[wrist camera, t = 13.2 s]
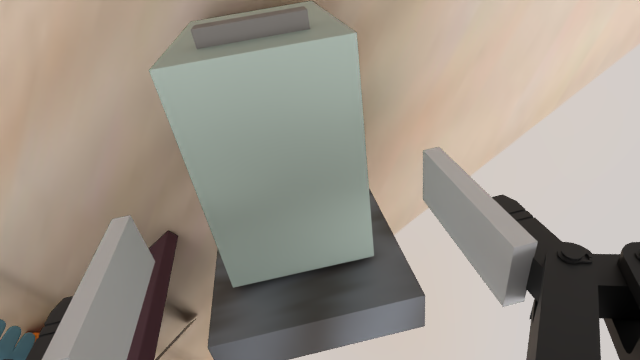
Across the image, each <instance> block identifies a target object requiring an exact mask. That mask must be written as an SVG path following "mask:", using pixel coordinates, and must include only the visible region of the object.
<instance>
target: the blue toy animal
mask: <svg viewBox="0 0 640 360" xmlns="http://www.w3.org/2000/svg"><path fill="white" fill-rule="evenodd" d="M5 327H6V323H5V321H3V320H1V319H0V337H1V335H2V333H3V331H4V329H5ZM39 334H40V333H31V332H26V333H25V334H24V335H23V336H22V338H21V339H20V341H19V342H18V344H17V345H16V343H17V341H18V339H19V337H20V335H21V329H20V327H18V326H12V327H10V328H9V329H8V330H7V331H6V333H5V334H4V336H3V337H2V339H1V340H0V360H3V359H13V360H25V359H26V358H27V356H28V354H29V352H30V350H31V348H32V347H33V344H34V342H35V341H36V339H37V338H39V336H38V335H39ZM15 345H16V347H15Z"/></svg>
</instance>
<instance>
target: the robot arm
mask: <svg viewBox="0 0 640 360" xmlns="http://www.w3.org/2000/svg"><path fill="white" fill-rule="evenodd" d="M423 200H424V201H425V203H426V204H427V205H428V207H429V208H430V210H431V211H432V212H433V213H434V215H435V216H436V217H437V219H438V220H439V222H440V223H441V224H442V226H443V227H444V228H445V230H446V231H447V232H448V233H449V235H450V236H451V238H452V239H453V240H454V242H455V243H456V244H457V246H458V247H459V248H460V250H461V251H462V252H463V254H464V255H465V256H466V258H467V259H468V261H469V262H470V263H471V265H472V266H473V267H474V269H475V270H476V271H477V273H478V274H479V275H480V277H481V278H482V279H483V281H484V282H485V283H486V285H487V286H488V287H489V288H490V290H491V291H492V293H493V294H494V295H495V297H496V298H497V299H498V301H499V302H500V303H501V305H502V306H503V307H504V306H508V305H512V304H516V303H520V302H523V301H524V299H525V295H526V291H527V290H528V291H529V292H530V294H532V296H533V297H534V298H535V300H534V303H533V307H532V311H531V315H530V319H531V326H530V335H529V343H528V351H527V359H526V360H601V356H600V329H599V318H604V321H605V323H606V326H607V328H608V331H609V333H610V336H611V338H612V341H613V344H614V346H615V349H616V351H617V354H618V356H619V359H620V360H640V242H632V243H629V244H627V245H625V246H624V248H623V249H622V251H621V254H619V255H617V254H592V253H591V252H590V251H589V250H587V249H586V248H584V247H582V246H580V245H577V244H574V243H569V242H562V241H560V240H559V239H558V238H557V237H556V236H555V235H554V234H553V233H551V232H550V231H549V230H548V229H547V228H546V227H545V226H544V225H542V224H541V223H540V222H539V221H538V220H537V219H536V218H533V216H532V215H531V214H530V213H529V212H528V211H525V209H524V208H523V207H522V206H521V205H520V204H519V203H518V202H517V201H515V200H513V199H511V198H509V197H507V196H504V195H499V196H495V197H491V196H490V195H489V194H488V193H487V192H486V191H485V190H483V188H481V187H480V186H479V185H478V184H477V183H476V182H475V181H474V180H473V179H472V178H471V177H470V176H469V175H468V174H467V173H466V172H465V171H464V170H463V169H462V168H461V167H460V166H459V165H458V164H457V163H456V162H454V161H453V160H452V159H451V158H450V157H449V156H448V155H447V154H446V153H445V152H444V151H443V150H442V149H441V148H440V147H436V148H431V149H427V150H423ZM154 263H155V260H154V258H153V256H152V254H151V253H150V251H149V249H148V247H147V245H146V243H145V241H144V240H143V238H142V236H141V234H140V232H139V230H138V228H137V227H136V225H135V223H134V221H133V219H132V217H131V215H128V216H124V217H119V218H115V219H112V220H111V222H110V224H109V226H108V228H107V230H106V232H105V234H104V236H103V238H102V240H101V242H100V244H99V246H98V248H97V250H96V252H95V254H94V256H93V258H92V260H91V262H90V264H89V266H88V268H87V270H86V272H85V274H84V276H83V278H82V280H81V282H80V284H79V286H78V288H77V290H76V292H75V294H74V296H72V297H67V298H64V299H63V300H62V301H61V302H60V303H59V304H58V305H57V306H56V307H55V308H54V309H53V310H52V311H51V313H50V315H49V317H48V319H47V321H46V322H45V324H44V325H45V327H43V328H42V330H41V332H40V334H39V335H38V336H39V338H37V339H36V341H35V343H34V345H33V347H32V348H31V350H30V352H29V354H28V356H27V358H26V359H25V360H127V357H128V353H129V350H130V346H131V343H132V340H133V336H134V333H135V329H136V326H137V322H138V319H139V315H140V312H141V308H142V305H143V302H144V298H145V295H146V291H147V288H148V284H149V281H150V277H151V274H152V270H153V267H154ZM3 360H13V359H3Z"/></svg>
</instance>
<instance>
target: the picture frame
mask: <svg viewBox="0 0 640 360" xmlns="http://www.w3.org/2000/svg"><path fill="white" fill-rule="evenodd" d="M177 239H178V236H177V235H175V234H173V233H172V232H170V231H167V232H166V233H165V234H164V235H163V236H162V237H161V238H160V239H159V240H158V241H156V242H155V243H154V244H153V245H152V246H151V247H150V248H149V251H150V253H151V254H152V256H153V258H154V260H155V263H154V267H153V270H152V274H151V277H150V281H149V284H148V288H147V291H146V295H145V298H144V302H143V305H142V308H141V312H140V315H139V319H138V322H137V326H136V329H135V333H134V336H133V340H132V343H131V346H130V350H129V353H128V357H127V360H154V358H155V353H156V347H157V342H158V337H159V332H160V327H161V322H162V317H163V311H164V306H165V301H166V296H167V291H168V286H169V281H170V275H171V270H172V265H173V260H174V255H175V250H176V245H177ZM194 321H195V320H193V321H192V322H191V323H190V324H189V325H187V326H186V327H185V328H184V329H183V331H182V332H181V333H180V334H179V335H178V336H177V337H176V338H175V339H174V340H173V341H172V342H171V343H170V344H169V345H168V347H167V348H166V349H165V350H164V351H163V352H162V353H161V354H160V355H159V356H158V357H157V358H156V359H155V360H158V359H159V358H160V357H161V356H162V355H163V354H164V353H165V352H166V351H167V350H168V349H169V348H170V346H171V345H172V344H173V343H174V342H175V341H176V340H177V339H178V338H179V337H180V336H181V335H182V334H183V332H184V331H185V330H186V329H187V328H188V327H189V326H190V325H191V324H192V323H193V322H194Z"/></svg>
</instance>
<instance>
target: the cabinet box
mask: <svg viewBox="0 0 640 360" xmlns="http://www.w3.org/2000/svg"><path fill="white" fill-rule="evenodd" d="M149 72H150V74H151V77H152V79H153V82H154V85H155V87H156V90H157V92H158V95H159V98H160V100H161V103H162V105H163V108H164V110H165V113H166V116H167V118H168V121H169V123H170V126H171V129H172V131H173V134H174V136H175V139H176V142H177V144H178V147H179V149H180V152H181V154H182V157H183V160H184V162H185V165H186V167H187V170H188V173H189V175H190V178H191V180H192V183H193V185H194V188H195V191H196V193H197V196H198V198H199V201H200V204H201V206H202V209H203V211H204V214H205V216H206V219H207V222H208V224H209V227H210V229H211V232H212V235H213V237H214V240H215V242H216V245H217V247H218V250H219V253H220V255H221V258H222V260H223V263H224V266H225V268H226V271H227V273H228V276H229V278H230V281H231V284H232V286H233V288H234V287H238V286H243V285H247V284H252V283H256V282H261V281H265V280H270V279H274V278H279V277H283V276H288V275H292V274H296V273H301V272H305V271H310V270H314V269H319V268H323V267H328V266H332V265H337V264H341V263H346V262H350V261H354V260H359V259H363V258H368V257H372V256H374V247H373V234H372V222H371V209H370V196H369V183H368V170H367V157H366V145H365V132H364V119H363V106H362V93H361V80H360V68H359V55H358V42H357V32H355V31H354V30H352V29H351V28H350V27H348V26H347V25H345V24H344V23H342V22H341V21H340V20H338V19H337V18H335V17H334V16H333V15H331V14H330V13H328V12H327V11H325V10H324V9H323V8H321V7H320V6H318V5H317V4H316V3H314V2H313V1H307V2H301V3H296V4H290V5H284V6H278V7H272V8H267V9H261V10H255V11H249V12H243V13H238V14H232V15H226V16H220V17H215V18H209V19H203V20H197V21H191V22H190V23H189V24H188V25H187V27H186V28H185V29H184V30H183V31H182V32H181V34H180V35H179V36H178V37H177V38H176V39H175V40H174V42H173V43H172V44H171V45H170V46H169V47H168V49H167V50H166V51H165V52H164V53H163V54H162V56H161V57H160V58H159V59H158V60H157V61H156V62H155V64H154V65H153V66H152V67H151V68H150V69H149Z"/></svg>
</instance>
